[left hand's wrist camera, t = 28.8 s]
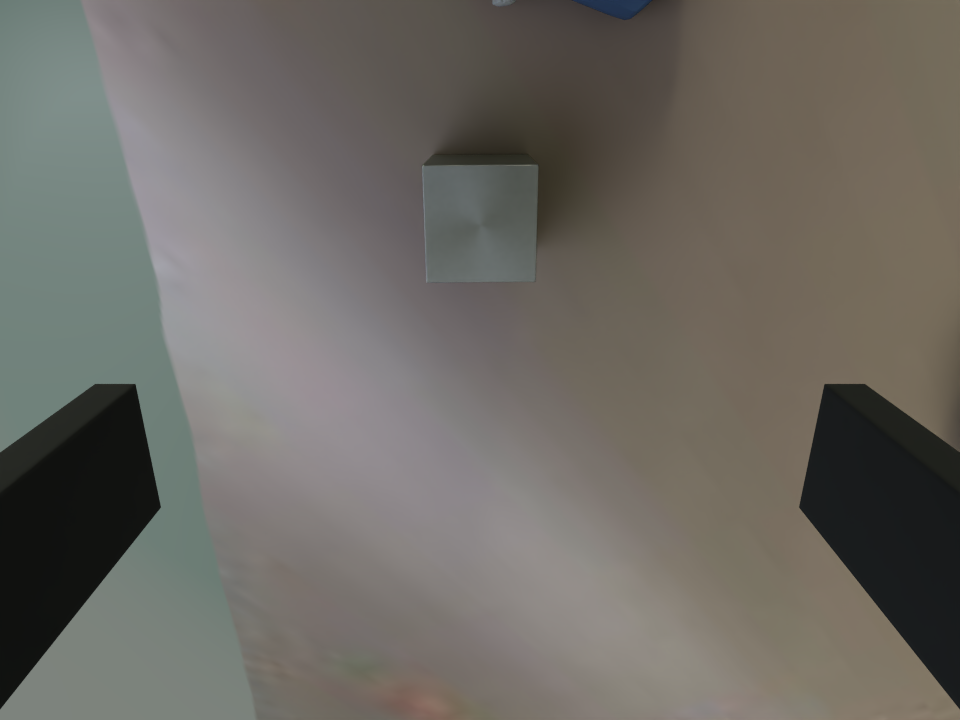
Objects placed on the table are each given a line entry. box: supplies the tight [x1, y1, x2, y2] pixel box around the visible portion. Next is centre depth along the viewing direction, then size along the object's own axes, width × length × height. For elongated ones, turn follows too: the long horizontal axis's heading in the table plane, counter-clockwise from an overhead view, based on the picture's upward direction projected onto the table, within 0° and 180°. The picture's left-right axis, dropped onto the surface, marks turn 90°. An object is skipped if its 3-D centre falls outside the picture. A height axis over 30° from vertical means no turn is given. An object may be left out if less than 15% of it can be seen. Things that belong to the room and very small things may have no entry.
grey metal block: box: [422, 154, 538, 283], centre depth 39 cm, size 6×6×8 cm
